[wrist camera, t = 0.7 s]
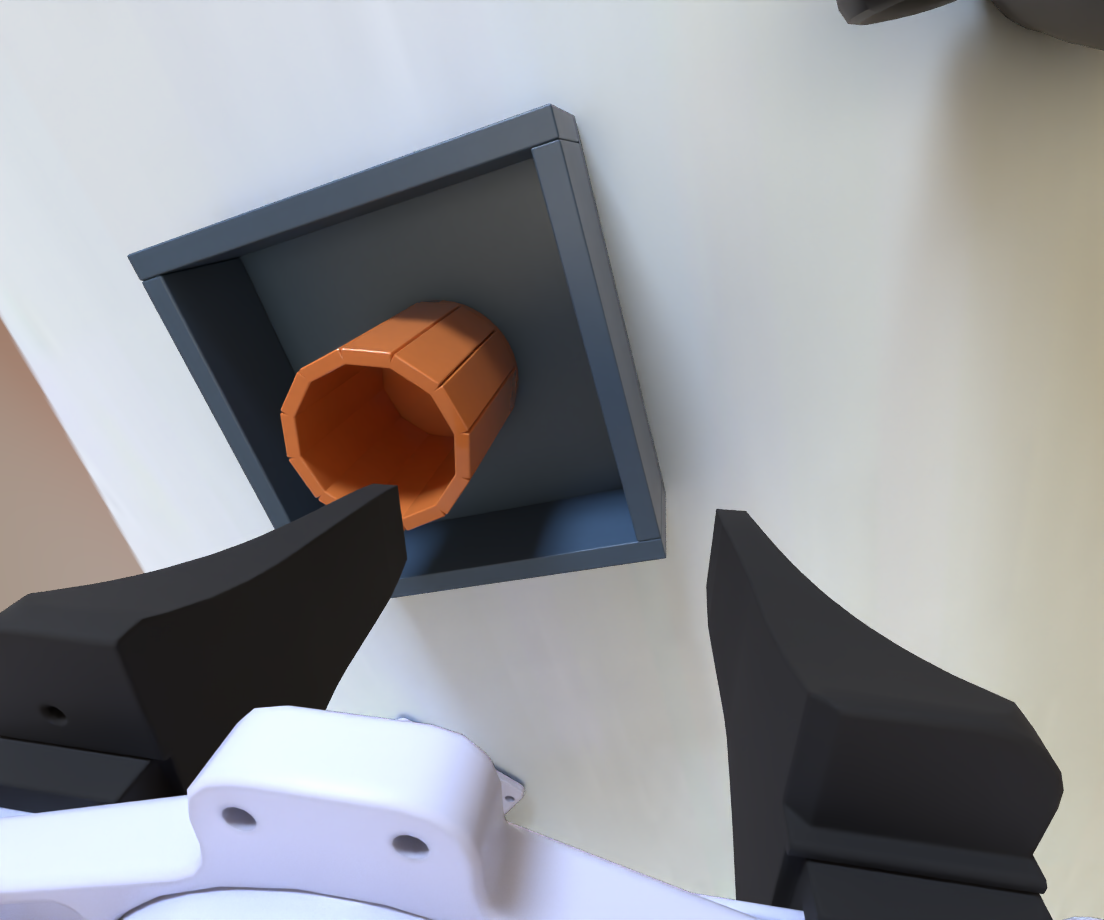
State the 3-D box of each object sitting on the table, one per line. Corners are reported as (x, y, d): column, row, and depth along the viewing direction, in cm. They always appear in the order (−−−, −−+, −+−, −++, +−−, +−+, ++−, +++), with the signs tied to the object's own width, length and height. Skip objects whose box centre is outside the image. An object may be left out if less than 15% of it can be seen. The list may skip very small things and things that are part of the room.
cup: (474, 466, 24) (416, 560, 19) (354, 390, 24) (256, 463, 18) (546, 357, 22) (505, 427, 16) (415, 268, 21) (324, 308, 16)
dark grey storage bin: (665, 492, 24) (666, 558, 20) (366, 544, 28) (316, 609, 24) (574, 114, 19) (551, 102, 15) (220, 238, 22) (125, 255, 18)
